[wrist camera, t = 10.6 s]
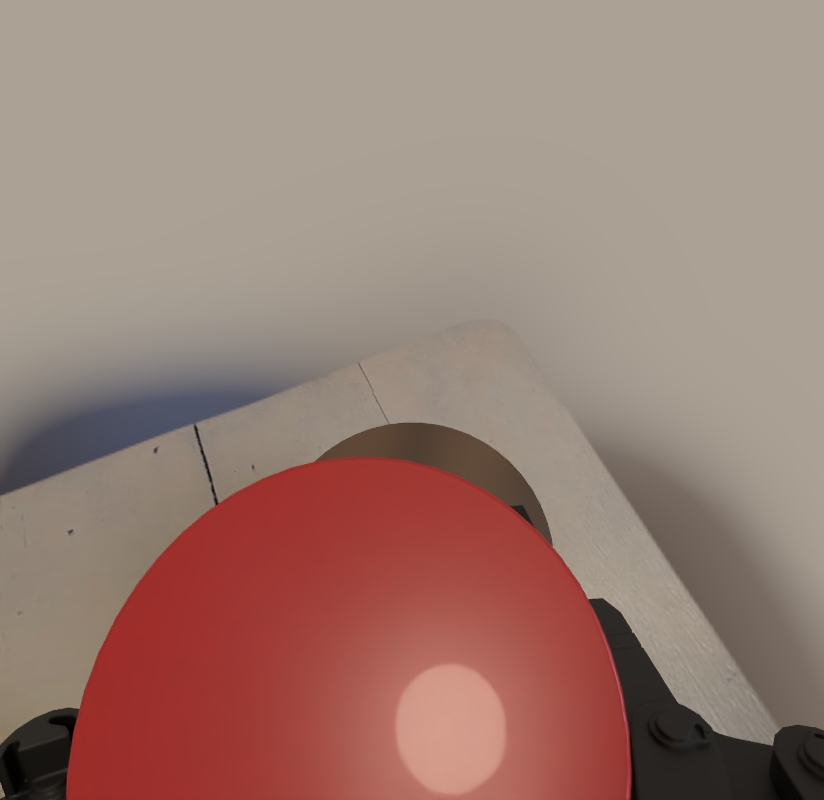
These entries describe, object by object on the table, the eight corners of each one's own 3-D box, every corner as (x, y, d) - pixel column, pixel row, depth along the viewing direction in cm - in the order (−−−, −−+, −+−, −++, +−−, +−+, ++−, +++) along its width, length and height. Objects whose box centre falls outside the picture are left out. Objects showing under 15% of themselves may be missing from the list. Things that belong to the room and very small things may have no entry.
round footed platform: (508, 465, 34) (528, 415, 28) (546, 700, 28) (582, 701, 21) (303, 478, 34) (277, 429, 27) (293, 718, 27) (257, 724, 21)
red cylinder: (484, 585, 18) (567, 439, 8) (515, 824, 15) (720, 1105, 5) (294, 599, 18) (124, 470, 8) (285, 843, 15) (-21, 1173, 5)
